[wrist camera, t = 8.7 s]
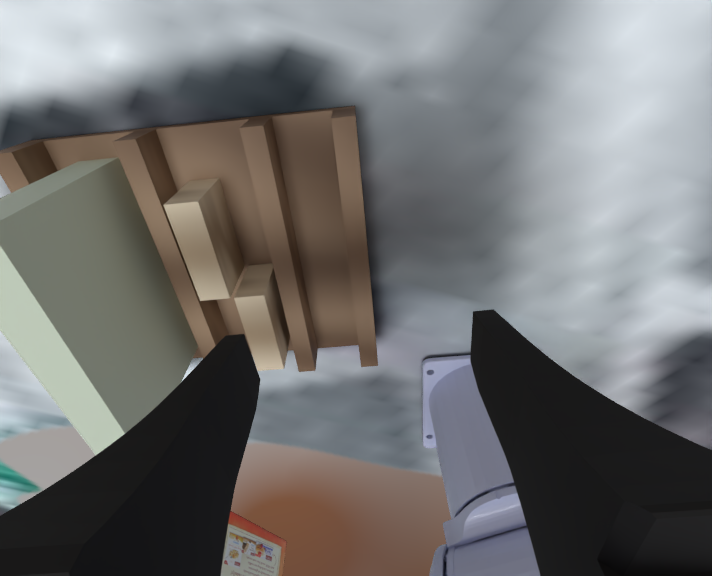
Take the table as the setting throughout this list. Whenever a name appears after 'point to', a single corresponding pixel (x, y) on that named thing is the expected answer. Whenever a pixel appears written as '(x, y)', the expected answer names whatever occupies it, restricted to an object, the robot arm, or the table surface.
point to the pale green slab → (90, 299)
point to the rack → (250, 214)
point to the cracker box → (251, 550)
